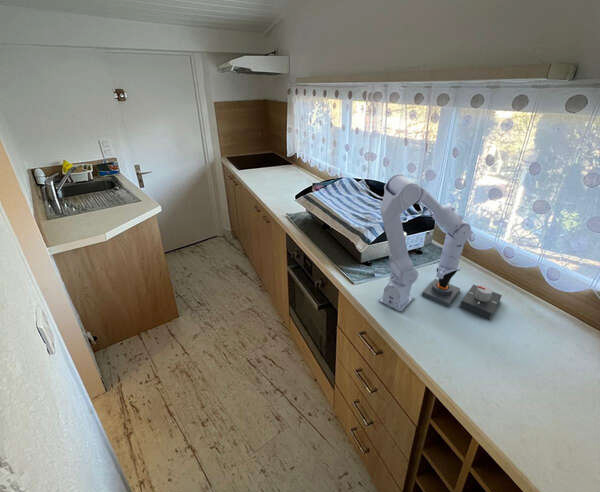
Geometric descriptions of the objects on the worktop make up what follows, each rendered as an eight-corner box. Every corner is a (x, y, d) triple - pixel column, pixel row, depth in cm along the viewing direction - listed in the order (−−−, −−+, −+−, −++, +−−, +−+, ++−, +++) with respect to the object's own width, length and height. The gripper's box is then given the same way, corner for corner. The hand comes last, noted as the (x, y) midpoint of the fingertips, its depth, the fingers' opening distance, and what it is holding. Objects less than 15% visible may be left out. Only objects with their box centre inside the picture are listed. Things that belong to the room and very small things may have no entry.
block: (447, 307, 103) (450, 299, 101) (421, 295, 108) (423, 287, 107) (459, 291, 110) (461, 284, 108) (434, 281, 115) (436, 274, 114)
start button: (445, 294, 106) (446, 290, 105) (434, 290, 108) (435, 286, 107) (448, 289, 108) (449, 285, 108) (438, 285, 111) (439, 281, 110)
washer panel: (489, 320, 97) (491, 312, 96) (459, 307, 103) (461, 300, 101) (499, 301, 105) (502, 294, 103) (471, 290, 110) (473, 283, 109)
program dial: (491, 297, 102) (494, 288, 101) (487, 303, 100) (490, 294, 98) (477, 291, 105) (480, 282, 103) (472, 297, 102) (475, 288, 100)
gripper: (456, 266, 94) (446, 300, 100) (471, 248, 103) (461, 281, 110) (433, 258, 98) (425, 291, 105) (450, 241, 107) (442, 273, 114)
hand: (442, 285), depth 107 cm, fingers closed, pressing on start button
